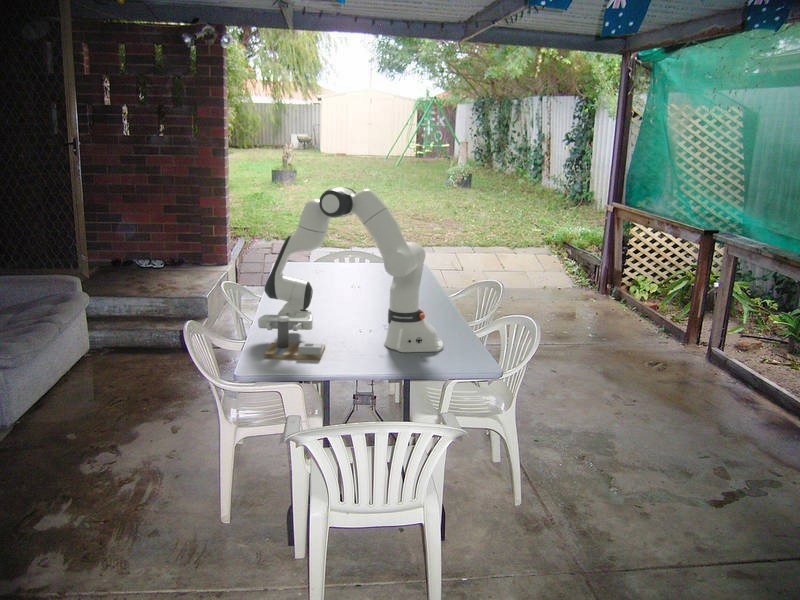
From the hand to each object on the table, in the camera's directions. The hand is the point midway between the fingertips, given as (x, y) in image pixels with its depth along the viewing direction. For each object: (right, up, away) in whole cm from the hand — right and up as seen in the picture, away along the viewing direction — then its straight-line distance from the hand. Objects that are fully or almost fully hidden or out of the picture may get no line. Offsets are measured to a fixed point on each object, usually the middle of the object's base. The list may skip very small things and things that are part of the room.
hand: (282, 328), depth 249 cm
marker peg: (0, -7, +3) cm, 7 cm away
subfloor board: (+5, -9, +1) cm, 10 cm away
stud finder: (+11, -9, -3) cm, 14 cm away
